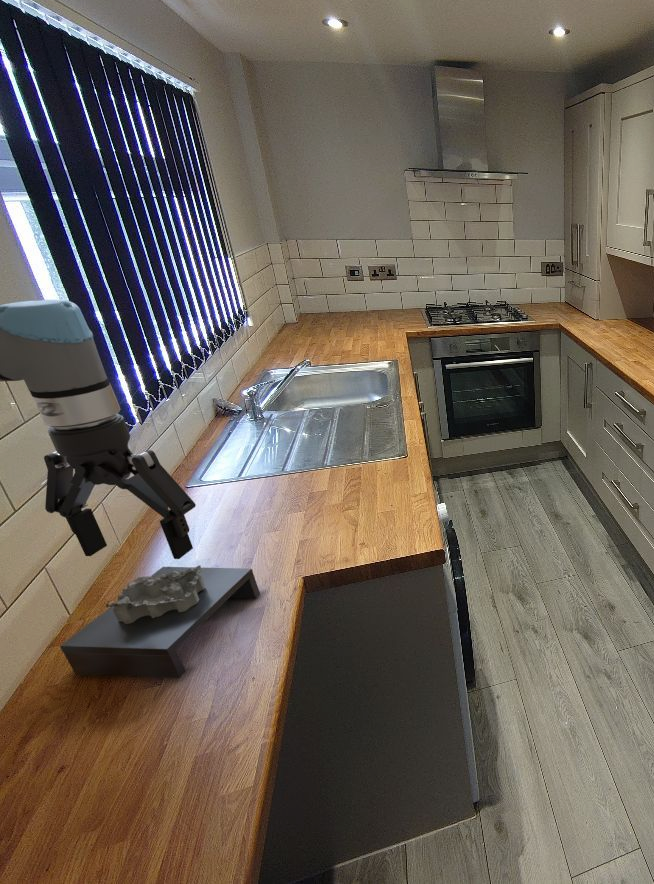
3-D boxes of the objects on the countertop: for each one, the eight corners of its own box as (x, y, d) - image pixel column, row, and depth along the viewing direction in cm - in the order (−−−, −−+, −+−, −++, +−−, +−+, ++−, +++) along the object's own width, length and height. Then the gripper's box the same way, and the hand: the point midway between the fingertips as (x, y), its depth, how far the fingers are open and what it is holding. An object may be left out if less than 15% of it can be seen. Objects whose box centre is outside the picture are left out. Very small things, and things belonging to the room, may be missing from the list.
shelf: (75, 674, 76) (59, 646, 74) (173, 591, 93) (162, 566, 91) (179, 678, 76) (166, 649, 73) (260, 593, 92) (251, 568, 90)
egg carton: (111, 628, 77) (99, 606, 76) (134, 596, 84) (124, 575, 82) (195, 611, 80) (186, 590, 79) (211, 581, 87) (203, 560, 85)
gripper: (-36, 428, 67) (34, 565, 75) (151, 432, 66) (201, 570, 74) (26, 408, 74) (84, 535, 82) (196, 411, 73) (237, 540, 81)
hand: (140, 552), depth 78 cm, fingers open, 13 cm apart
